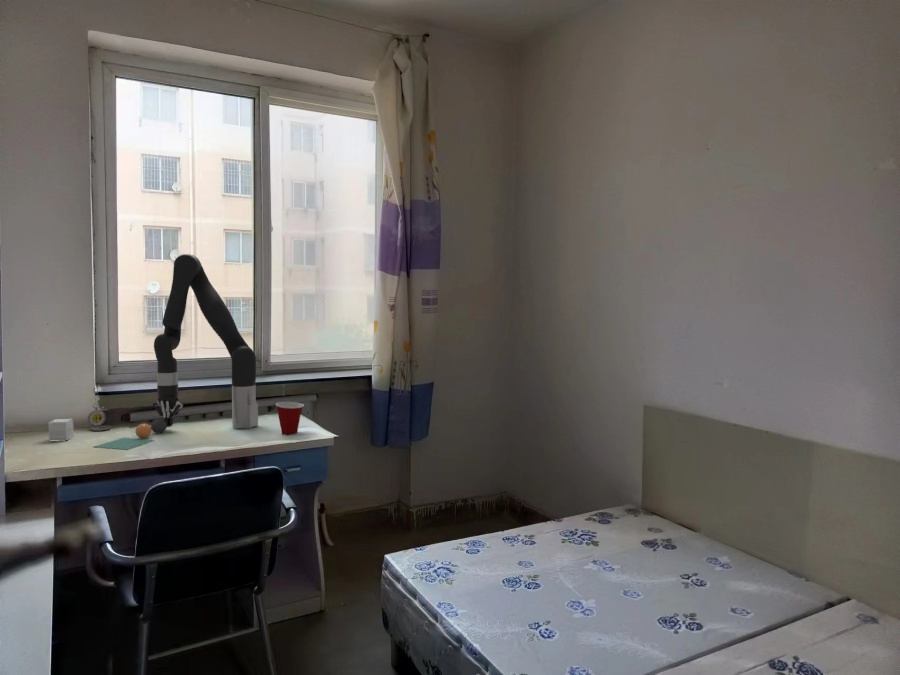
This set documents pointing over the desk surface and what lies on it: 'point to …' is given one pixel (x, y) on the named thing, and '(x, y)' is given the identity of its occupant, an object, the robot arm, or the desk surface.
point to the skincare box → (61, 429)
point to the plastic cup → (289, 416)
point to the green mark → (124, 443)
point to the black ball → (158, 426)
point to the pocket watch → (97, 419)
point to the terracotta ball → (143, 430)
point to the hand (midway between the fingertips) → (168, 426)
